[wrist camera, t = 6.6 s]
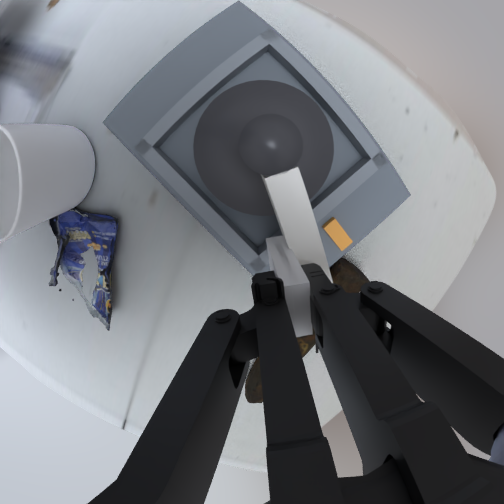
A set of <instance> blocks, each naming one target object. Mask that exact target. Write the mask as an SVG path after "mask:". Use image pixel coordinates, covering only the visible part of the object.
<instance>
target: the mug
mask: <svg viewBox="0 0 504 504" xmlns="http://www.w3.org/2000/svg"><path fill="white" fill-rule="evenodd" d="M94 173H95V156H94V151H93V148H92V145H91V143H90V141H89V140H88V138H87V136H86V135H85V134H84V133H83V132H82V131H81V130H79V129H77V128H75V127H73V126H69V125H62V124H31V123H16V124H0V243H2V242H4V241H6V240H8V239H10V238H12V237H14V236H16V235H18V234H20V233H22V232H24V231H26V230H28V229H30V228H32V227H34V226H36V225H38V224H40V223H42V222H44V221H46V220H49V219H51V218H53V217H55V216H57V215H60V214H62V213H64V212H66V211H68V210H70V209H72V208H74V207H76V206H77V205H78V204H79V203H80V202H81V201H82V200H83V199H84V198H85V197H86V195H87V194H88V192H89V190H90V188H91V185H92V182H93V179H94Z"/></svg>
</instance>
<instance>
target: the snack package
mask: <svg viewBox="0 0 504 504" xmlns="http://www.w3.org/2000/svg"><path fill="white" fill-rule="evenodd" d="M70 210H74V211H70ZM70 210H68V211H66V212H64V213H62V214H60V215H57V216H55V217H53V218H51V219H50V220H49V222H50V225H51V227H52V231H53V233H54V235H55V236H56V238H57V244H58V248H59V249H58V253H57V258H56V261H55V266H54V267H53V268H51V272H50V274H51V275H52V276H51V280H50V282H49V283H48V284H49V286H56V285H57V284H58V283H57V282H58V281H57V276H58V275H59V273H57V272H58V267H59V265H61V269H62V271H63V274H64V275H65V277H66V278H67V279H68V280H69V281H70V282H71V283H72V284H74V286H75V287H76V288H77V289H78V291H79V293H80V294H81V296H82V297H83V299H84V300H85V303H86V305H87V308H88V310H89V311H90V314H92V316H93V317H97V318H99V319H100V321H101V322H102V323H103V324H104V325H105V326H106V328H107V330H109V329H110V320H111V314H112V290H111V267H112V263H113V257H114V246H115V240H116V234H117V229H118V219H117V218H114V217H111V216H108V215H100V214H98V215H96V214H91V213H86V212H83V211H79V210H77V209H74V208H72V209H70ZM75 210H77V211H78V212H80V213H81V214H86V215H87V216H88V217H87V216H85V217H83V216H82V215H80V214H78V213H76V212H75ZM60 216H61V217H60ZM78 239H80V240H78ZM90 246H93V248H94V252H95V256H96V258H97V262H98V278H97V283H96V287H95V289H94V291H93V298H92V305H93V306H94V307H95V308H96V309H97V310H94V309H93V308H92V306H91V304H90V303H89V301H88V300H87V299H86V298H85V296H84V294H83V292H82V287H83V286H82V285H81V283H82V282H83V279H82V273H83V269H84V265H85V264H86V263H85V261H84V260H83V258H82V257H81V255H80V254H81V253H83V252H84V251H87V250H88V249H89V248H90ZM59 291H61V289H59ZM73 301H74V299H73Z"/></svg>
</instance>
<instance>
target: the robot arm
mask: <svg viewBox="0 0 504 504" xmlns="http://www.w3.org/2000/svg"><path fill="white" fill-rule="evenodd" d="M266 244H267V250H268V257H269V264H270V271H267V272H261V273H255V275H254V276H253V278H252V285H251V288H252V294H253V299H254V306H253V308H252V309H251V310H249V311H247V312H245V313H243V314H240V315H239V314H238V312H237V311H235V310H232V309H222V310H218V311H216V312H214V313H212V314H211V315H210V316H209V317H208V319H207V320H206V322H205V324H204V326H203V327H202V329H201V331H200V333H199V334H198V336H197V338H196V340H195V341H194V343H193V345H192V347H191V348H190V350H189V352H188V354H187V355H186V357H185V359H184V361H183V362H182V364H181V366H180V368H179V369H178V371H177V373H176V375H175V376H174V378H173V380H172V382H171V383H170V385H169V387H168V389H167V391H166V392H165V394H164V396H163V398H162V399H161V401H160V403H159V405H158V406H157V408H156V410H155V412H154V414H153V415H152V417H151V419H150V421H149V422H148V424H147V426H146V428H145V430H144V431H143V433H142V435H141V437H140V438H139V440H138V442H137V444H136V446H135V447H134V449H133V451H132V453H131V455H130V456H129V458H128V460H127V462H126V464H125V465H124V467H123V469H122V471H121V472H120V474H119V476H118V478H117V480H116V481H114V482H113V483H112V484H111V485H110V486H109V487H107V488H106V489H105V490H104V491H103V492H101V493H100V494H99V495H98V496H96V497H95V498H94V499H93V500H91V501H90V502H89V503H88V504H204V502H205V499H206V496H207V493H208V491H209V488H210V485H211V482H212V479H213V476H214V473H215V471H216V468H217V465H218V462H219V459H220V456H221V453H222V450H223V447H224V444H225V441H226V438H227V435H228V432H229V429H230V426H231V423H232V419H233V416H234V413H235V410H236V407H237V404H238V401H239V397H240V394H241V391H242V388H243V385H244V381H245V378H246V375H247V372H248V368H249V363H250V361H249V360H252V359H254V358H257V357H259V361H260V372H261V383H262V394H263V405H264V415H265V426H266V437H267V447H266V457H267V469H268V480H269V491H270V501H268V502H266V503H265V504H504V359H503V358H502V357H500V356H499V355H497V354H496V353H495V352H493V351H492V350H490V349H489V348H487V347H486V346H484V345H483V344H481V343H480V342H478V341H477V340H475V339H474V338H472V337H470V336H469V335H468V334H466V333H464V332H463V331H461V330H460V329H458V328H457V327H455V326H454V325H452V324H451V323H449V322H447V321H446V320H444V319H443V318H441V317H439V316H438V315H436V314H435V313H433V312H432V311H430V310H428V309H427V308H425V307H424V306H422V305H420V304H419V303H417V302H415V301H414V300H412V299H410V298H409V297H407V296H406V295H404V294H402V293H401V292H399V291H397V290H396V289H394V288H392V287H390V286H389V285H387V284H385V283H383V282H378V281H371V282H368V283H365V284H363V285H362V286H361V290H360V293H347V292H345V290H344V289H343V288H342V287H341V286H340V285H338V284H335V283H331V281H330V280H329V278H328V277H327V275H326V274H325V272H324V271H323V269H322V268H321V266H319V265H317V264H315V263H310V264H305V265H300V263H299V261H298V260H297V258H296V256H295V254H294V252H293V250H292V249H289V247H288V245H287V242H286V240H285V237H284V235H283V236H276V237H270V238H266ZM387 322H388V323H390V324H391V329H389V328H388V327H386V324H387ZM312 326H313V328H314V331H315V340H316V353H318V349H319V350H320V352H321V355H322V357H323V360H324V362H325V365H326V367H327V370H328V372H329V375H330V378H331V380H332V383H333V385H334V388H335V390H336V393H337V395H338V398H339V401H340V403H341V406H342V408H343V411H344V414H345V416H346V419H347V421H348V424H349V427H350V429H351V432H352V435H353V437H354V440H355V443H356V445H357V448H358V451H359V453H360V456H361V459H362V464H363V476H356V477H343V478H338V477H337V472H336V468H335V465H334V461H333V457H332V453H331V449H330V446H329V443H328V440H327V438H326V437H324V436H323V433H322V430H321V426H320V422H319V418H318V414H317V411H316V407H315V403H314V399H313V396H312V392H311V388H310V385H309V381H308V377H307V374H306V370H305V366H304V363H303V359H302V355H301V352H300V348H299V345H298V341H297V338H296V337H301V336H306V335H311V334H313V330H312ZM416 394H417V395H418V396H419V397H420V398H421V399H423V400H424V401H425V402H421V401H420V399H419V398H418V396H417V395H416ZM451 427H453V428H454V429H455V430H456V431H457V432H458V433H459V434H460V435H461V436H462V437H463V438H464V439H465V440H467V441H468V442H469V443H470V444H472V445H473V446H474V447H475V448H477V449H479V450H481V451H482V452H484V453H486V454H488V455H490V456H491V458H490V459H489V461H488V460H485V459H482V458H479V457H476V456H473V455H471V454H468V453H467V452H466V451H465V449H464V447H463V446H462V444H461V442H460V441H459V439H458V437H457V436H456V434H455V432H454V431H453V429H452V428H451Z"/></svg>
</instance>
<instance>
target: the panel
mask: <svg viewBox="0 0 504 504" xmlns="http://www.w3.org/2000/svg"><path fill="white" fill-rule="evenodd" d="M255 80H272V81H278V82H282V83H286V84H288V85H291V86H293V87H295V88H297V89H299V90H301V91H302V92H304V93H305V94H307V95H308V96H309V97H310V98H311V99H312V100H313V101H315V102H316V103H317V105H318V106H319V107H320V108H321V110H322V111H323V113H324V115H325V116H326V118H327V120H328V122H329V125H330V127H331V131H332V135H333V141H334V156H333V162H332V166H331V170H330V172H329V175H328V177H327V179H326V181H325V182H324V184H323V186H322V187H321V188H320V190H319V191H318V192H317V193H316V194H315V195H314V196H313V197H312V198H311V199H310V200H309V201H310V204H311V207H312V210H313V214H314V217H315V220H316V224H317V227H318V230H319V234H320V237H321V241H322V244H323V248H324V251H325V255H326V258H327V262H328V266H329V267H330V266H331V265H333V264H334V263H335V262H336V261H337V260H339V259H340V258H341V257H342V256H343V255H345V254H346V253H347V252H348V251H349V250H350V249H352V248H353V247H354V246H355V245H356V244H357V243H359V242H360V241H361V240H362V239H363V238H364V237H365V236H367V235H368V234H369V233H370V232H371V231H372V230H373V229H374V228H376V227H377V226H378V225H379V224H380V223H381V222H382V221H383V220H384V219H386V218H387V217H388V216H389V215H390V214H391V213H392V212H393V211H394V210H395V209H396V208H398V207H399V206H400V205H401V204H402V203H403V202H404V201H405V200H406V199H407V198H408V197H409V196H410V193H409V191H408V189H407V188H406V186H405V184H404V183H403V181H402V180H401V178H400V176H399V175H398V173H397V172H396V170H395V168H394V167H393V165H392V164H391V162H390V161H389V159H388V158H387V156H386V155H385V153H384V152H383V150H382V149H381V147H380V146H379V145H378V143H377V142H376V140H375V139H374V138H373V136H372V135H371V134H370V132H369V131H368V129H367V128H366V127H365V125H364V124H363V123H362V122H361V120H360V119H359V118H358V116H357V115H356V114H355V113H354V111H353V110H352V109H351V108H350V106H349V105H348V104H347V103H346V102H345V100H344V99H343V98H342V97H341V96H340V95H339V93H338V92H337V91H336V90H335V89H334V88H333V87H332V85H331V84H330V83H329V82H328V81H327V80H326V79H325V78H324V77H323V75H322V74H321V73H320V72H319V71H318V70H317V69H316V68H315V67H314V66H313V65H312V64H311V63H310V62H309V61H308V60H307V59H306V58H305V57H304V56H303V55H302V54H301V53H300V52H299V51H298V50H297V49H296V48H295V47H294V46H293V45H292V44H291V43H289V42H288V41H287V40H286V39H285V38H284V37H283V36H282V35H281V34H279V33H278V32H277V31H276V30H275V29H274V28H273V27H271V26H270V25H269V24H268V23H267V22H265V21H264V20H263V19H262V18H261V17H259V16H258V15H257V14H256V13H254V12H253V11H252V10H250V9H249V8H248V7H246V6H245V5H244V4H242V3H241V2H240V1H237V2H236V3H234V4H233V5H231V6H230V7H228V8H227V9H225V10H224V11H222V12H221V13H219V14H218V15H216V16H215V17H214V18H212V19H211V20H209V21H208V22H207V23H205V24H204V25H203V26H201V27H200V28H199V29H197V30H196V31H195V32H193V33H192V34H191V35H190V36H188V37H187V38H186V39H185V40H184V41H182V42H181V43H180V44H179V45H178V46H176V47H175V48H174V49H173V50H172V51H171V52H169V53H168V54H167V55H166V56H165V57H164V58H163V59H162V60H161V61H160V62H158V63H157V64H156V65H155V66H154V67H153V68H152V69H151V70H150V71H149V72H148V73H147V74H146V75H145V76H144V77H143V78H142V79H141V80H140V81H139V82H138V83H137V84H136V85H135V86H134V87H133V88H132V89H131V90H130V91H129V93H128V94H127V95H126V96H125V97H124V98H123V99H122V100H121V101H120V103H119V104H118V105H117V106H116V107H115V108H114V109H113V111H112V112H111V113H110V114H109V115H108V117H107V118H106V119H105V120H104V121H103V123H104V125H105V126H106V127H107V128H108V129H109V130H110V131H111V132H112V133H113V134H114V135H115V136H116V137H117V138H118V139H119V140H120V141H121V142H122V143H123V144H124V146H125V147H126V148H127V149H128V150H129V151H130V152H131V153H132V154H133V155H134V156H135V157H136V158H137V159H138V160H139V161H140V162H141V163H142V164H143V165H144V166H145V167H146V168H147V169H148V170H149V171H150V172H151V174H152V175H153V176H154V177H155V178H156V179H157V180H158V181H159V182H160V183H161V184H162V185H163V186H164V187H165V188H166V189H167V190H168V191H169V192H170V193H171V194H172V195H173V196H174V197H175V198H176V199H177V200H178V201H179V202H180V203H181V204H182V205H183V206H184V207H185V208H186V209H187V210H188V211H189V212H190V213H191V214H192V215H193V216H194V217H195V218H196V219H197V220H198V221H199V222H200V223H201V224H202V225H203V226H204V227H205V228H206V229H207V230H208V231H209V232H210V233H211V234H212V235H213V236H214V237H215V238H216V239H217V240H218V241H219V242H220V243H221V244H222V245H223V246H224V247H225V248H226V249H227V250H228V251H229V252H230V253H231V254H232V255H233V256H234V257H235V258H236V259H237V260H238V261H239V262H240V263H241V264H242V265H243V266H244V267H245V268H246V269H247V270H248V271H249V272H250V273H251V274H252V275H253V276H254V275H255V273H261V272H267V271H270V264H269V257H268V250H267V244H266V238H270V237H276V236H283V235H282V232H281V229H280V226H279V223H278V220H277V218H276V215H272V216H257V215H250V214H246V213H242V212H240V211H237V210H234V209H232V208H231V207H229V206H227V205H225V204H224V203H222V202H221V201H220V200H218V199H217V198H216V197H215V196H214V195H213V194H212V193H211V192H210V191H209V190H208V188H207V187H206V185H205V184H204V182H203V181H202V179H201V177H200V175H199V173H198V170H197V167H196V164H195V159H194V150H193V144H194V135H195V131H196V127H197V125H198V122H199V119H200V118H201V116H202V114H203V112H204V111H205V109H206V108H207V107H208V105H209V104H210V103H211V102H212V101H213V100H214V99H215V98H216V97H217V96H219V95H220V94H221V93H222V92H224V91H226V90H227V89H229V88H231V87H233V86H235V85H238V84H241V83H244V82H248V81H255Z"/></svg>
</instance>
